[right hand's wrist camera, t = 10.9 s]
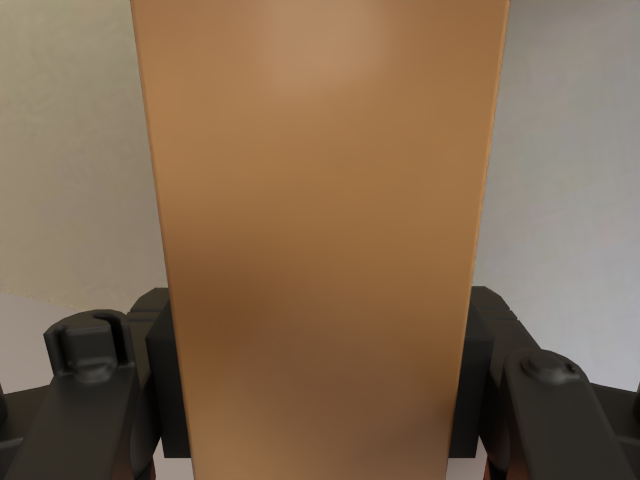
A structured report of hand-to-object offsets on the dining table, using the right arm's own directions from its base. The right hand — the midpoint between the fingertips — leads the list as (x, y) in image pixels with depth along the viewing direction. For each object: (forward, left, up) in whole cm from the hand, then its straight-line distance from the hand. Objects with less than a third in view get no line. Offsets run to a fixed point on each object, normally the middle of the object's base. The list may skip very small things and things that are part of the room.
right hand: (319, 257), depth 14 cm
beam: (-21, -4, -1) cm, 22 cm away
